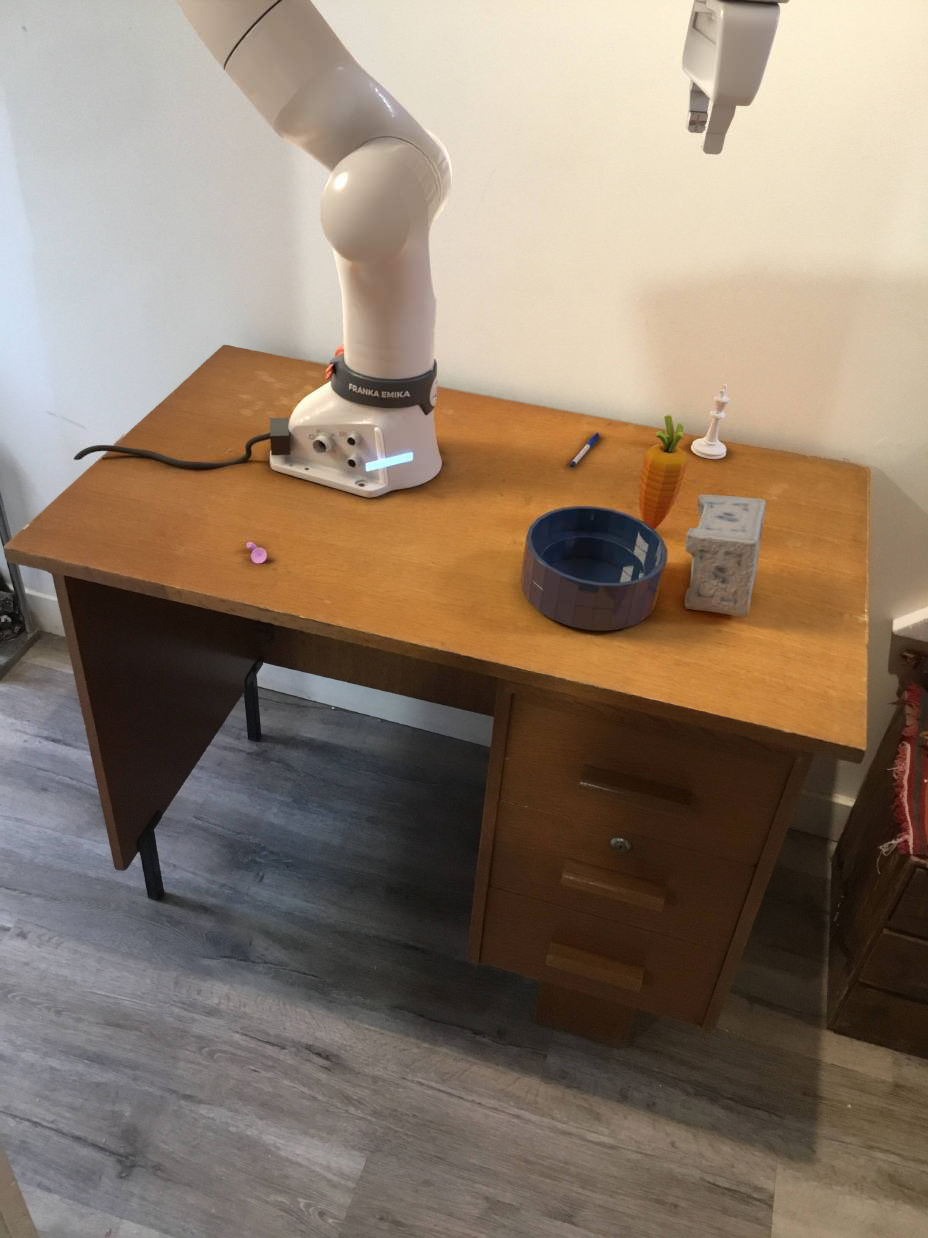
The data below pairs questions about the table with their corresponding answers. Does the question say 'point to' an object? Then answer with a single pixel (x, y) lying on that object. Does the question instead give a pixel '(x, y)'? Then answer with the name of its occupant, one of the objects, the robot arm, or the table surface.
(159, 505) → the table surface
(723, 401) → the chess piece
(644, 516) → the carrot
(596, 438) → the ballpoint pen
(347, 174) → the robot arm
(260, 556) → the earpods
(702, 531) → the incense holder
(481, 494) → the table surface
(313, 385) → the table surface
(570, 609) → the blue pet bowl
